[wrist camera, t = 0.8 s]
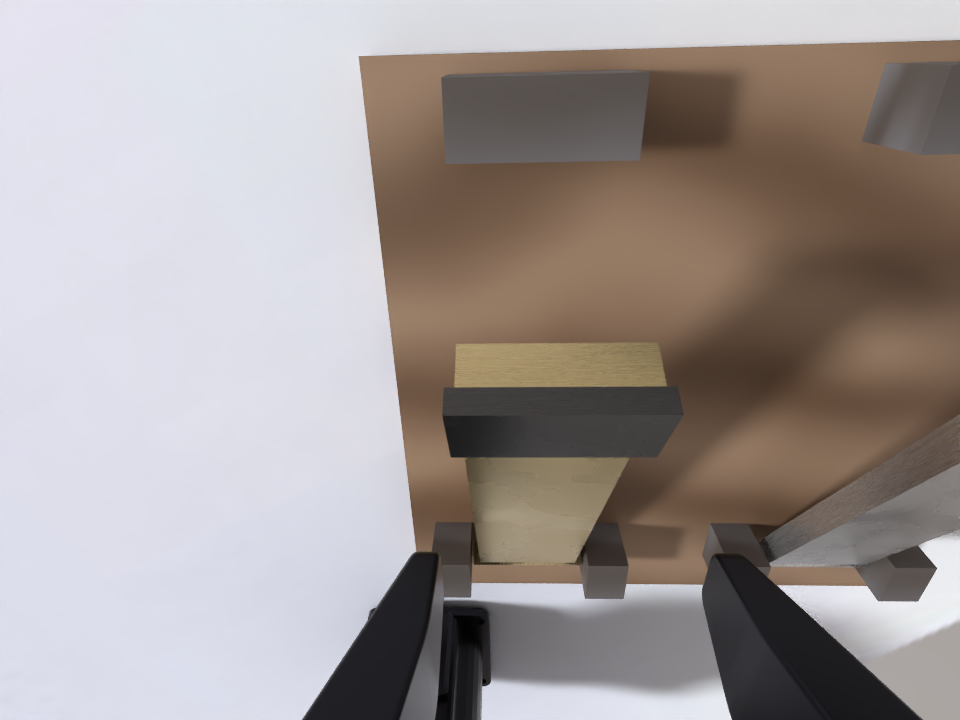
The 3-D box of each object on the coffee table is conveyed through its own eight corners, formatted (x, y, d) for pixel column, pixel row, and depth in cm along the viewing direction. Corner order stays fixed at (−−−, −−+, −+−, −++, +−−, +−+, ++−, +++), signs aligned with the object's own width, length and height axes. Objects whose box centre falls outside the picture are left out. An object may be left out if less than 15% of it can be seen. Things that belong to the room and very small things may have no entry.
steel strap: (851, 545, 24) (864, 584, 23) (745, 545, 24) (754, 583, 23) (1314, 337, 10) (1390, 412, 9) (1062, 339, 10) (1114, 413, 9)
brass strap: (577, 544, 24) (580, 582, 23) (474, 543, 24) (473, 581, 23) (673, 341, 11) (689, 415, 10) (441, 344, 11) (436, 415, 10)
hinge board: (870, 559, 26) (927, 636, 23) (423, 557, 27) (412, 630, 24) (1124, 36, 16) (1305, 30, 12) (369, 56, 16) (335, 56, 13)
